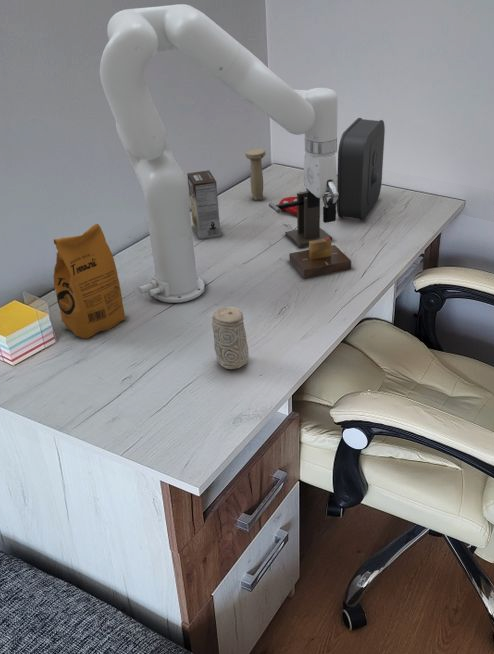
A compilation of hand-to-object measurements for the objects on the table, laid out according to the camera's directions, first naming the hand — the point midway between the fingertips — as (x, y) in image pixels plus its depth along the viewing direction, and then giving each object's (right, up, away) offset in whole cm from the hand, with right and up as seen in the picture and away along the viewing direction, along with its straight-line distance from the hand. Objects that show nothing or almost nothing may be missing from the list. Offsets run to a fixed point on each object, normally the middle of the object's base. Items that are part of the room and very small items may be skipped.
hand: (321, 214), depth 164 cm
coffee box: (-33, 0, +24) cm, 41 cm away
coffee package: (-50, -28, -16) cm, 60 cm away
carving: (-18, -37, -28) cm, 50 cm away
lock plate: (0, -12, +8) cm, 14 cm away
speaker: (+12, +9, +38) cm, 41 cm away
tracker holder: (-7, +9, +38) cm, 40 cm away
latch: (-8, +4, +14) cm, 16 cm away
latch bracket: (-4, -3, +21) cm, 21 cm away
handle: (-20, +14, +45) cm, 51 cm away
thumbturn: (0, -10, +6) cm, 11 cm away
